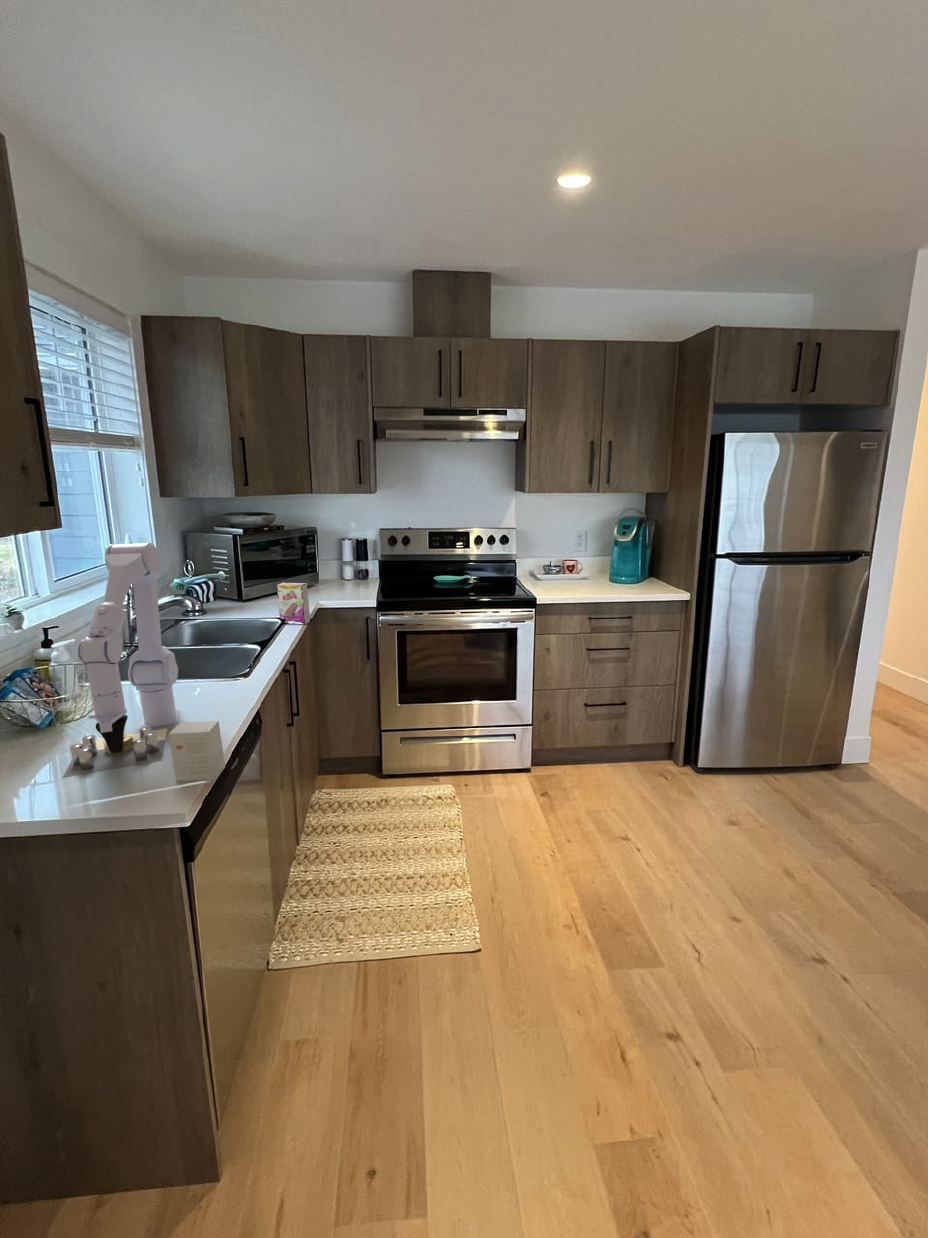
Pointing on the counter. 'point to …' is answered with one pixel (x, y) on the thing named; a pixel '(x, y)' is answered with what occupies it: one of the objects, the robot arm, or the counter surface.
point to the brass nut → (126, 745)
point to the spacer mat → (118, 757)
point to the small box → (197, 751)
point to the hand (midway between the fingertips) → (116, 751)
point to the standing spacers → (88, 749)
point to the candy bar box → (293, 602)
